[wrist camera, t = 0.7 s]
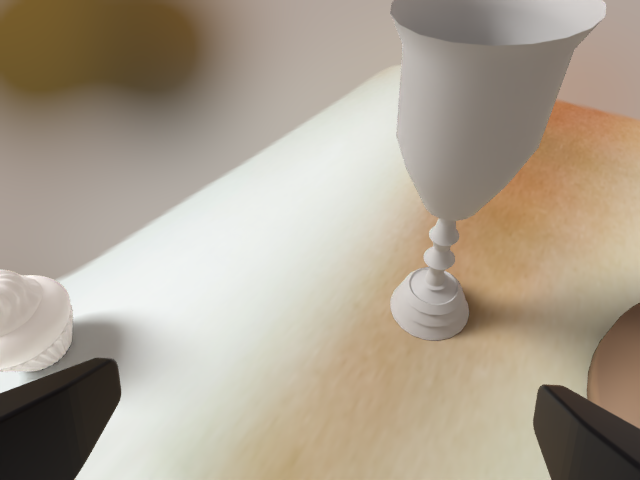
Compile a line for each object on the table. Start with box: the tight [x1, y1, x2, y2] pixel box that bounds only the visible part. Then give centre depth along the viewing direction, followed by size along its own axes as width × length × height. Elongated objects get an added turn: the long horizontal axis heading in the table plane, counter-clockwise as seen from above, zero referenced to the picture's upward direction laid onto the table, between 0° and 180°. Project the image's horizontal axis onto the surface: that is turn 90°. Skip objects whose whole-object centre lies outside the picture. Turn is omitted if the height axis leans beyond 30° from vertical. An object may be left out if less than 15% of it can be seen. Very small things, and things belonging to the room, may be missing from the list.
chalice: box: [390, 0, 606, 341], centre depth 20 cm, size 7×7×18 cm
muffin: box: [0, 269, 73, 372], centre depth 24 cm, size 6×6×7 cm
